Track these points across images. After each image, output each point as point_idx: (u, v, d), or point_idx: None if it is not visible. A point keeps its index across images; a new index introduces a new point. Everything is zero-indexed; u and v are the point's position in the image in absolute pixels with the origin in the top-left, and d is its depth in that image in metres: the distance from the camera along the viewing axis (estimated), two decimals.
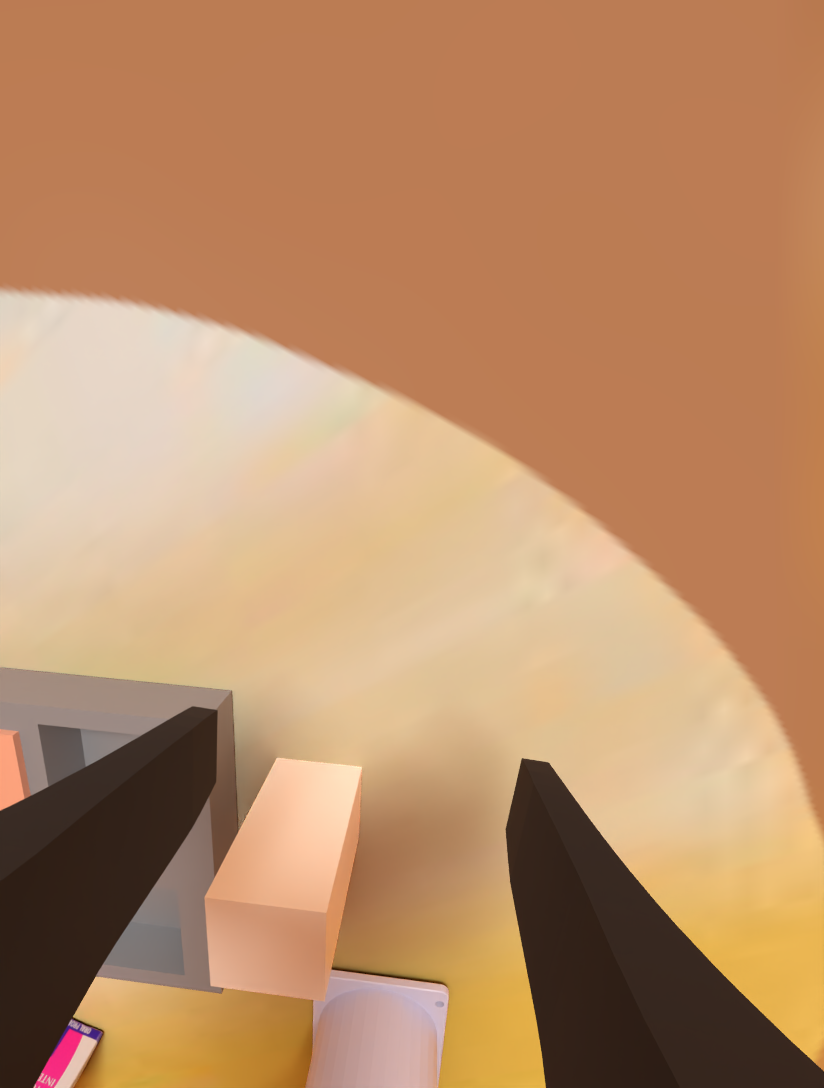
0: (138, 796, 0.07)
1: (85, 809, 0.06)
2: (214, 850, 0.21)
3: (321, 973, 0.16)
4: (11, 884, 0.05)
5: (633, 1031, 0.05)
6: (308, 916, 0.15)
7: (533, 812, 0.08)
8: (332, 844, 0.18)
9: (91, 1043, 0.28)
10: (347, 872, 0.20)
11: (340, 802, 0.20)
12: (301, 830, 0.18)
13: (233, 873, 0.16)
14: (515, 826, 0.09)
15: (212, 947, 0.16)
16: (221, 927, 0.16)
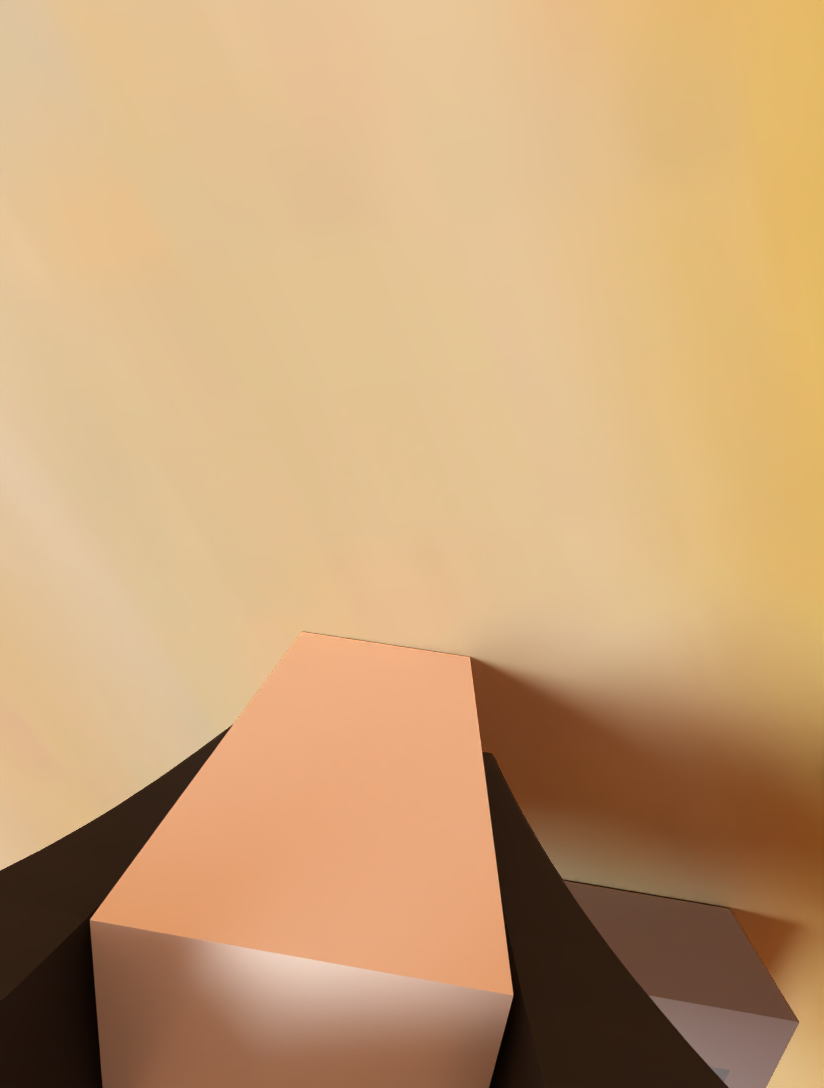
0: None
1: None
2: None
3: (367, 980, 0.04)
4: None
5: (515, 1009, 0.05)
6: (117, 967, 0.05)
7: None
8: None
9: None
10: (406, 725, 0.08)
11: None
12: None
13: None
14: None
15: None
16: None
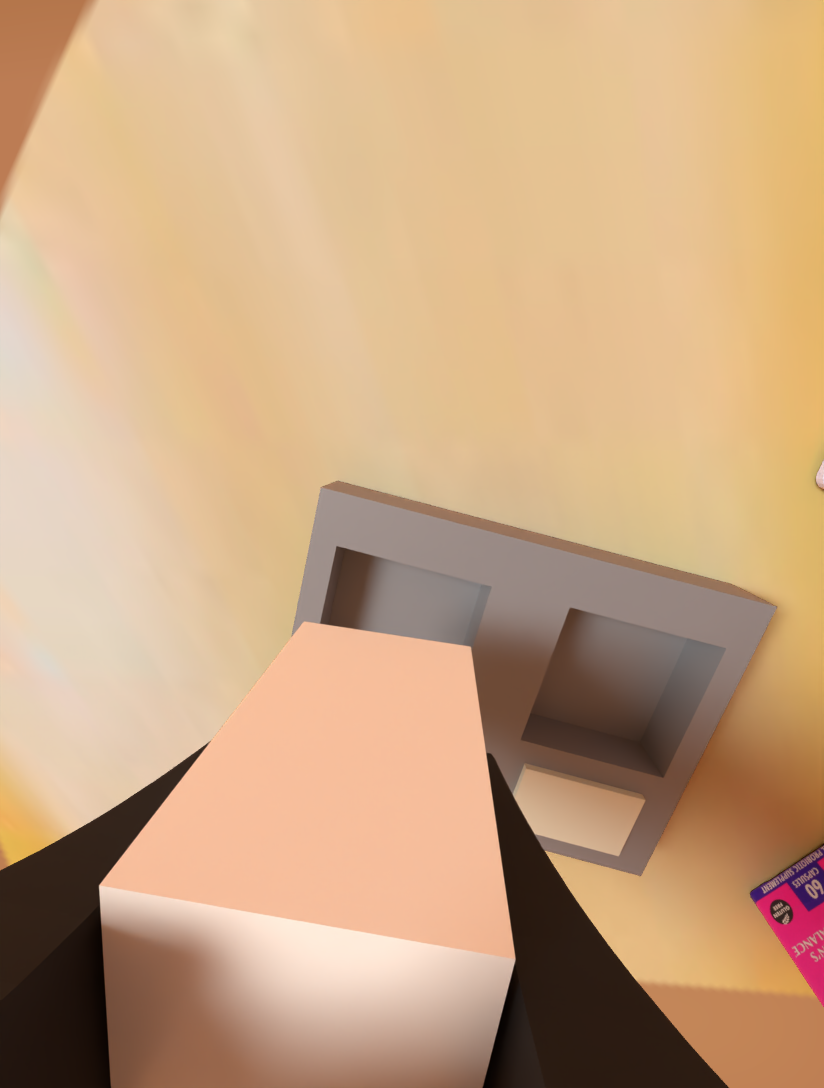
0: None
1: None
2: (517, 537, 0.15)
3: (372, 945, 0.04)
4: None
5: (516, 1010, 0.05)
6: (125, 934, 0.05)
7: None
8: None
9: None
10: (409, 710, 0.08)
11: None
12: None
13: None
14: None
15: None
16: None
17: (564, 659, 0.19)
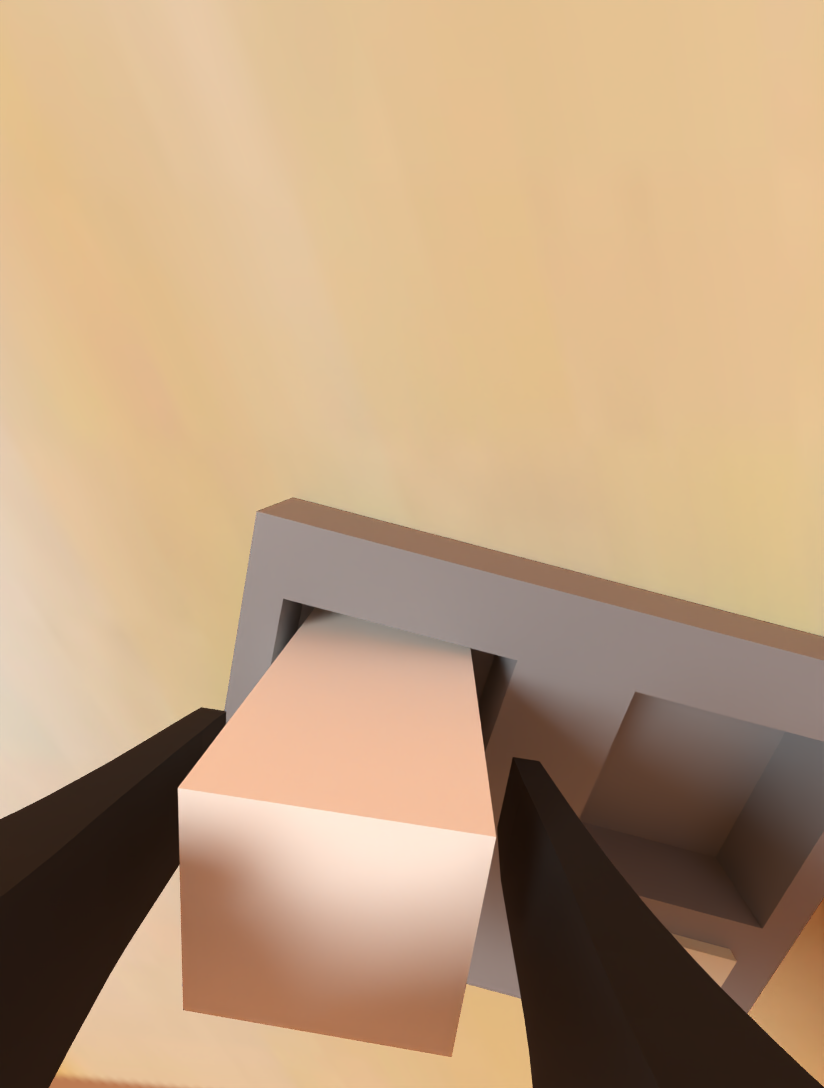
0: (149, 798, 0.07)
1: (98, 811, 0.06)
2: (556, 588, 0.10)
3: (387, 829, 0.06)
4: (27, 887, 0.05)
5: (614, 1027, 0.05)
6: (196, 827, 0.06)
7: (522, 810, 0.08)
8: None
9: None
10: (412, 672, 0.10)
11: None
12: None
13: None
14: (506, 825, 0.09)
15: (327, 1027, 0.07)
16: (264, 999, 0.07)
17: (614, 747, 0.13)
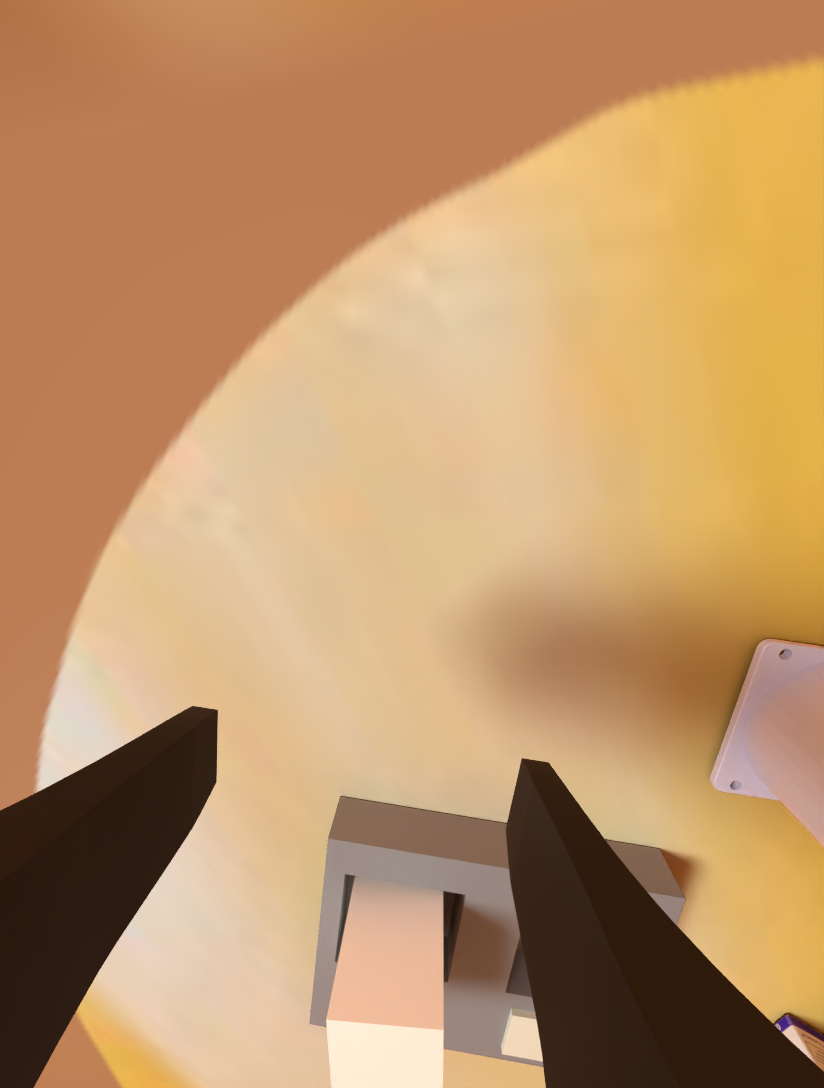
0: (138, 796, 0.07)
1: (85, 809, 0.06)
2: (480, 861, 0.20)
3: (404, 1029, 0.16)
4: (11, 884, 0.05)
5: (634, 1031, 0.05)
6: (334, 1032, 0.16)
7: (533, 812, 0.08)
8: (341, 950, 0.19)
9: (791, 1031, 0.24)
10: (412, 915, 0.20)
11: None
12: None
13: None
14: (515, 826, 0.09)
15: None
16: None
17: None
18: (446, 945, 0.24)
